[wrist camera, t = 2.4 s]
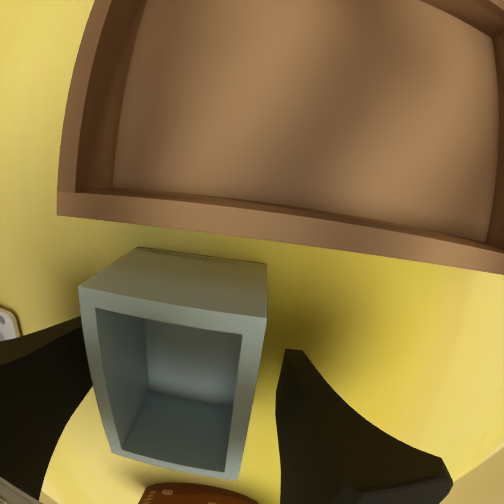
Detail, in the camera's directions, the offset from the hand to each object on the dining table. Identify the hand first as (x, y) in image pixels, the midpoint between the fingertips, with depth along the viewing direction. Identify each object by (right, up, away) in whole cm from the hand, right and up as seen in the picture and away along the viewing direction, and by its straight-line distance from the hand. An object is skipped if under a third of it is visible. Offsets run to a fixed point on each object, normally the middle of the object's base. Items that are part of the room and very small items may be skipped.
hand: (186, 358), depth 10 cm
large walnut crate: (+5, +10, -1) cm, 11 cm away
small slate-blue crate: (0, 0, +1) cm, 1 cm away
